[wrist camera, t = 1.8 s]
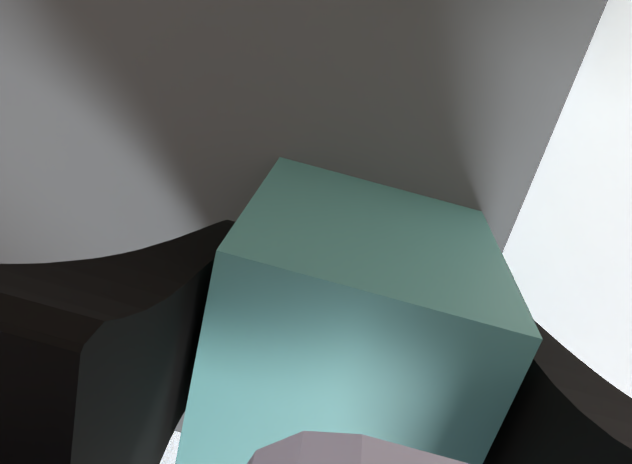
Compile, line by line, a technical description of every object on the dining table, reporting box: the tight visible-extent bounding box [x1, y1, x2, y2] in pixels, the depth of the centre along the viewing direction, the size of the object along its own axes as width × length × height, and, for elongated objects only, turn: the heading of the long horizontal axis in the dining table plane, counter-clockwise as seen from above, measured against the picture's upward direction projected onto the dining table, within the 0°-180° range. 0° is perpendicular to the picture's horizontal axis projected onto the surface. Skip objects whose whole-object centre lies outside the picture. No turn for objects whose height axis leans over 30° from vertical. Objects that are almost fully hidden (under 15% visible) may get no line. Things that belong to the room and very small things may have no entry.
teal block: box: [175, 157, 543, 464], centre depth 11 cm, size 4×4×5 cm
